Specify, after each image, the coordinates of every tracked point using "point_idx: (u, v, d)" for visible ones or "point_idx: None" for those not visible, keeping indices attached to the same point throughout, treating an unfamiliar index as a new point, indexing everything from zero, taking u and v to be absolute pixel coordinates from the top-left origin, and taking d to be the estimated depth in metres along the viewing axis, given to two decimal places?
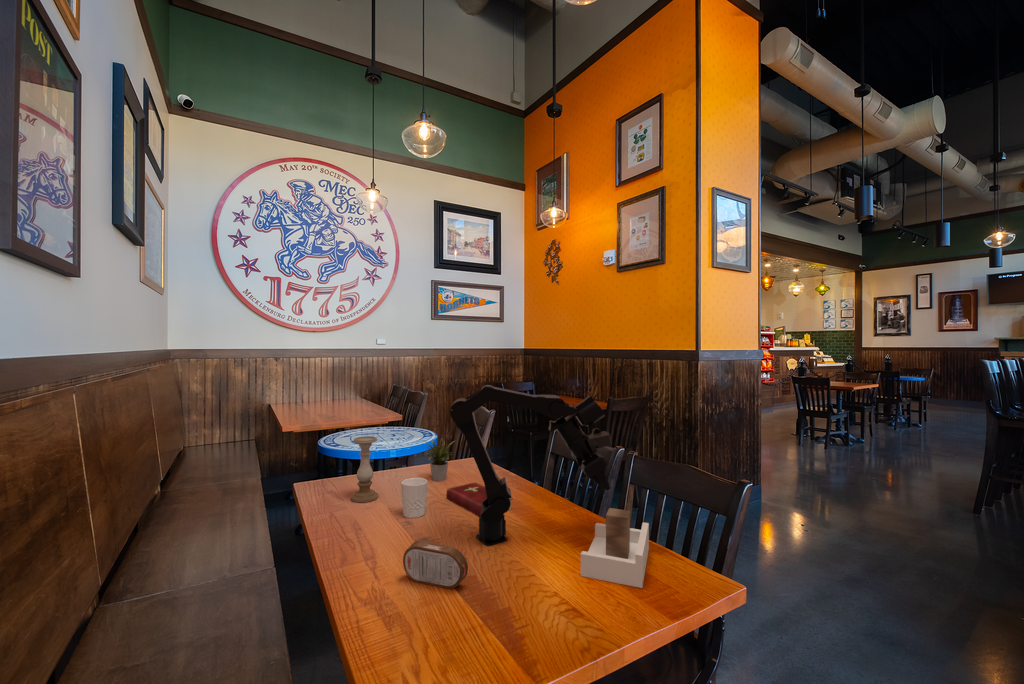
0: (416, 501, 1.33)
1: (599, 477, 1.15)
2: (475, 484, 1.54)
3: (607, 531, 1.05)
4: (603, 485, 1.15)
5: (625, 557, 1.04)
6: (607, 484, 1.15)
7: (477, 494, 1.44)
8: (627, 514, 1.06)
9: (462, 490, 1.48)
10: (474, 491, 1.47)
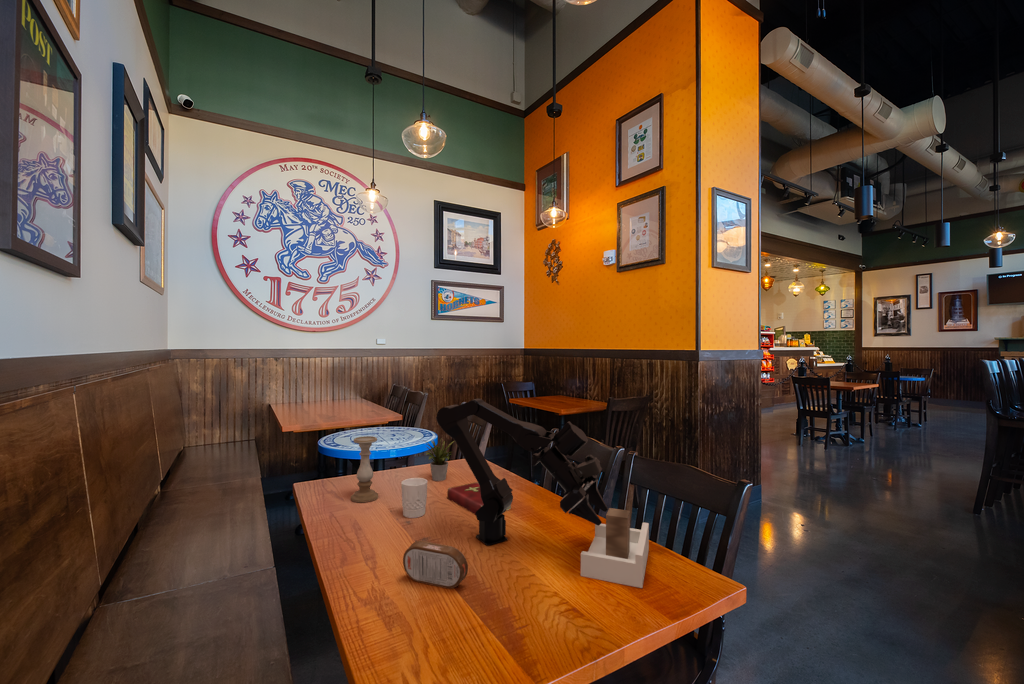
0: (416, 501, 1.33)
1: (584, 511, 1.04)
2: (476, 484, 1.55)
3: (607, 531, 1.05)
4: (592, 520, 1.04)
5: (625, 557, 1.04)
6: (596, 518, 1.03)
7: (477, 494, 1.44)
8: (627, 514, 1.06)
9: (463, 490, 1.48)
10: (474, 491, 1.47)
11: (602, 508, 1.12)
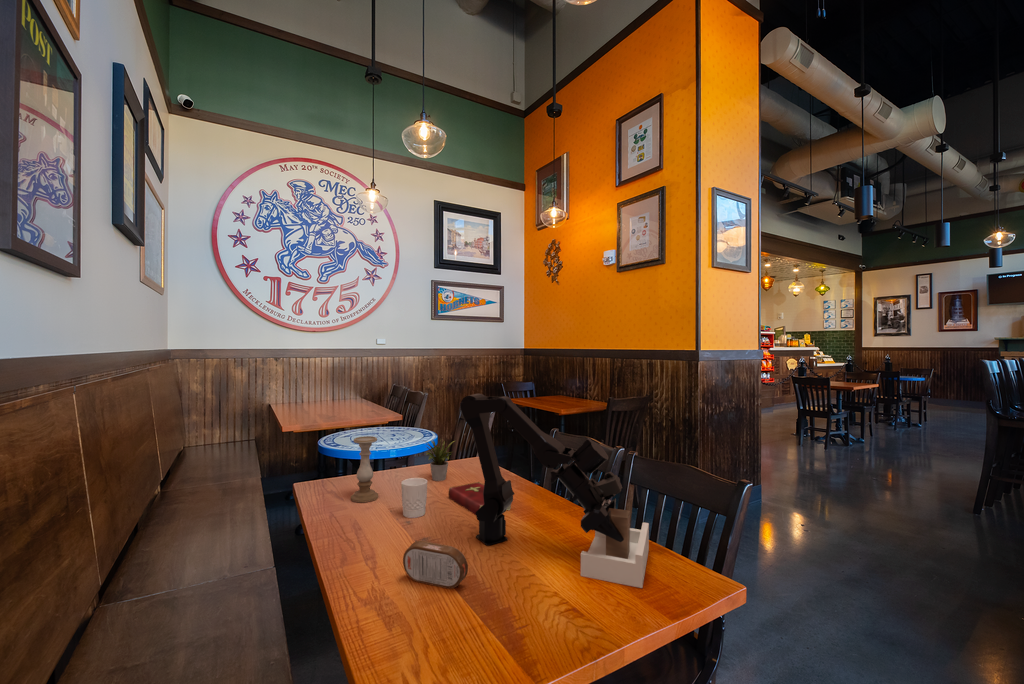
0: (416, 501, 1.33)
1: (607, 528, 1.04)
2: (478, 484, 1.55)
3: None
4: (614, 536, 1.04)
5: (625, 557, 1.04)
6: (618, 535, 1.03)
7: (477, 494, 1.44)
8: (627, 514, 1.06)
9: (464, 490, 1.48)
10: (475, 491, 1.47)
11: None
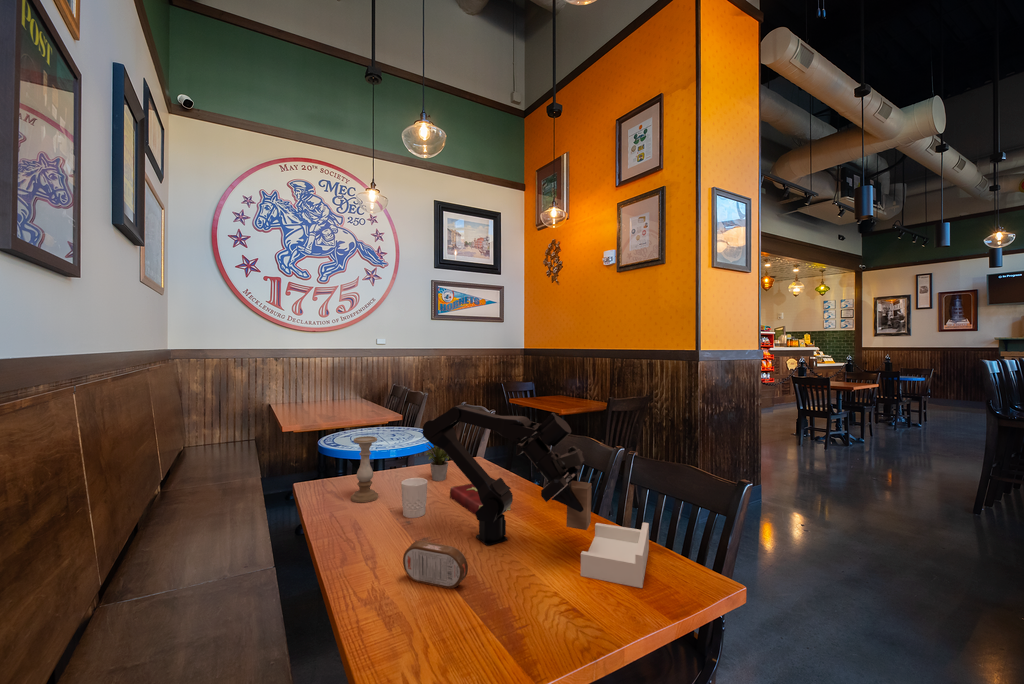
0: (416, 501, 1.33)
1: (567, 498, 1.07)
2: None
3: None
4: (574, 507, 1.07)
5: (585, 527, 1.07)
6: (578, 505, 1.07)
7: None
8: (588, 486, 1.09)
9: (464, 489, 1.49)
10: (476, 491, 1.47)
11: None
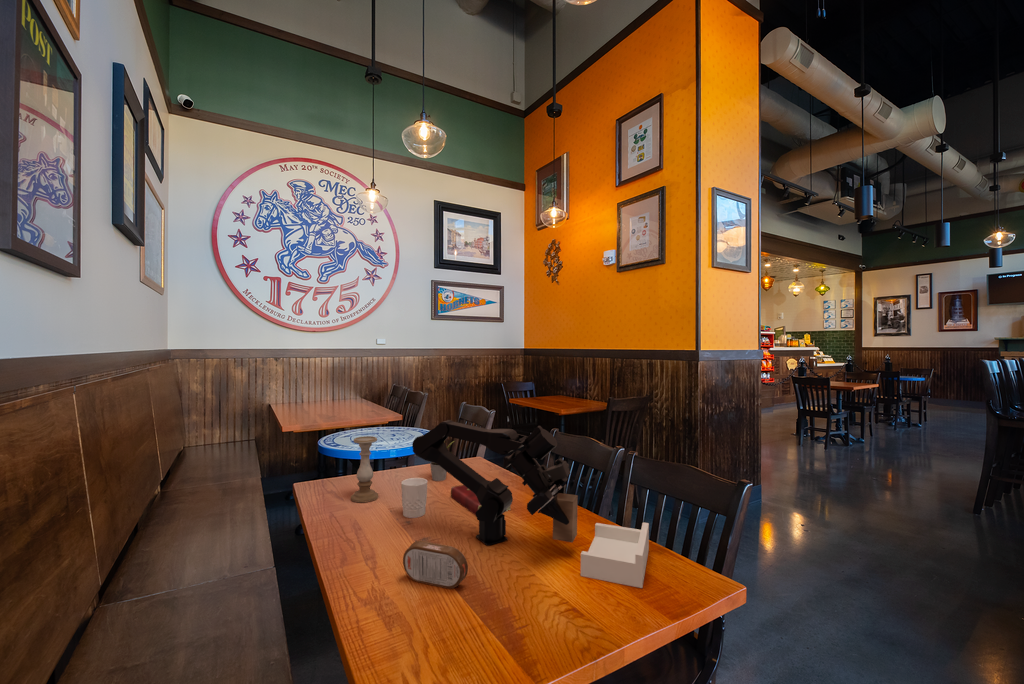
0: (416, 501, 1.33)
1: (553, 511, 1.09)
2: None
3: None
4: (560, 519, 1.08)
5: (570, 539, 1.08)
6: (564, 518, 1.08)
7: None
8: (574, 498, 1.10)
9: (465, 489, 1.49)
10: None
11: None
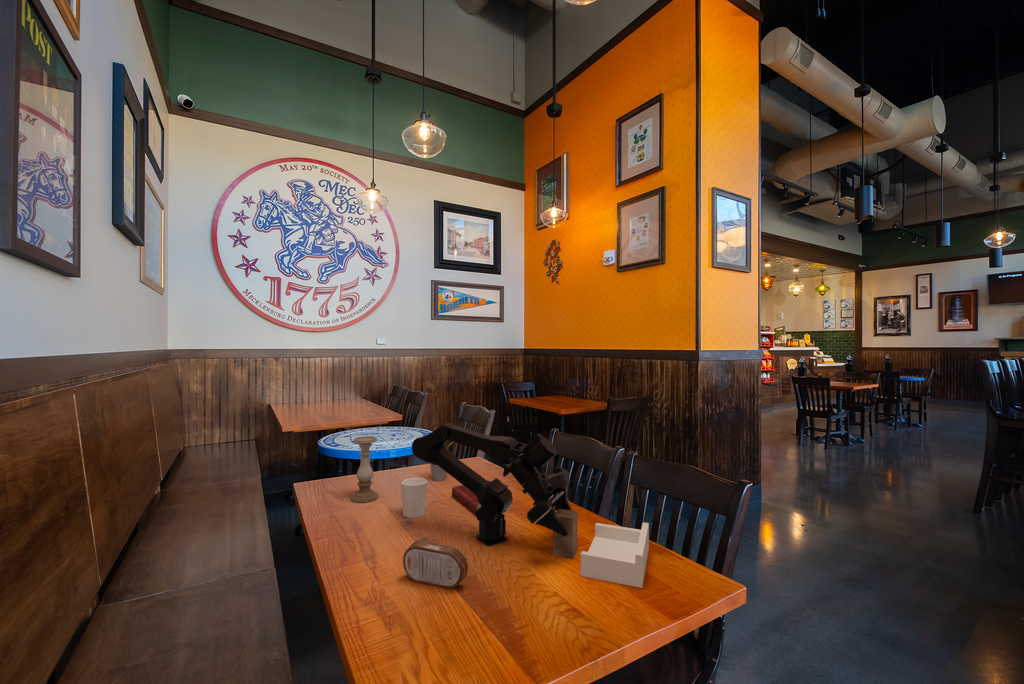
0: (416, 501, 1.33)
1: (551, 522, 1.07)
2: None
3: None
4: (558, 531, 1.07)
5: (571, 556, 1.08)
6: (562, 529, 1.06)
7: None
8: (574, 515, 1.10)
9: (466, 489, 1.49)
10: None
11: None
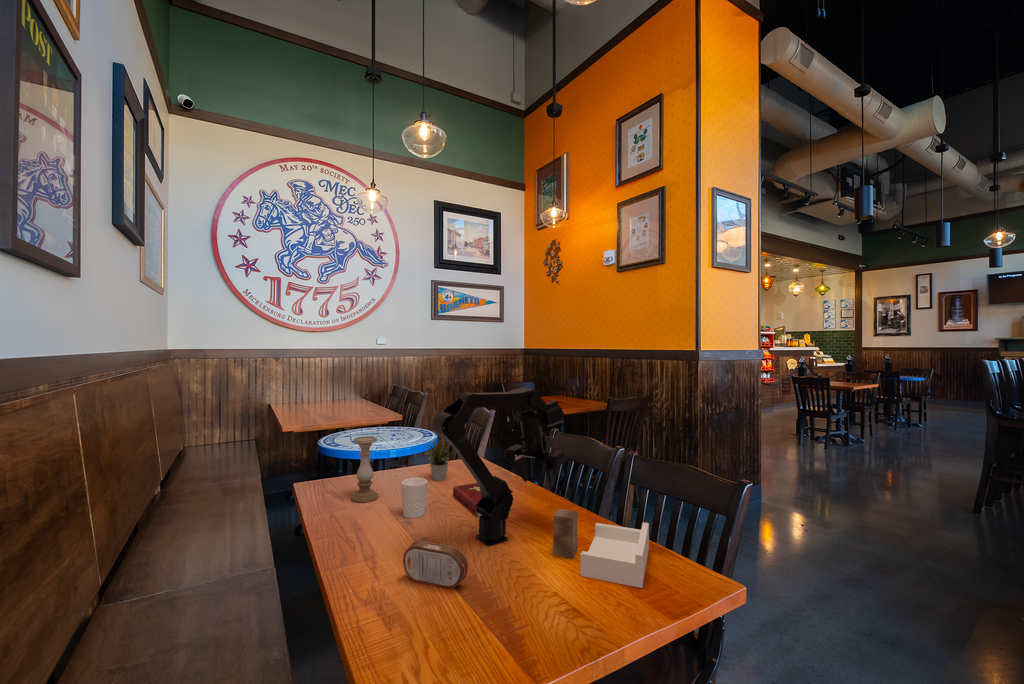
0: (416, 501, 1.33)
1: (552, 472, 1.23)
2: None
3: (554, 531, 1.10)
4: (552, 481, 1.24)
5: (571, 556, 1.08)
6: (553, 481, 1.24)
7: (478, 494, 1.44)
8: (574, 515, 1.10)
9: (467, 489, 1.49)
10: (477, 490, 1.47)
11: (525, 478, 1.30)
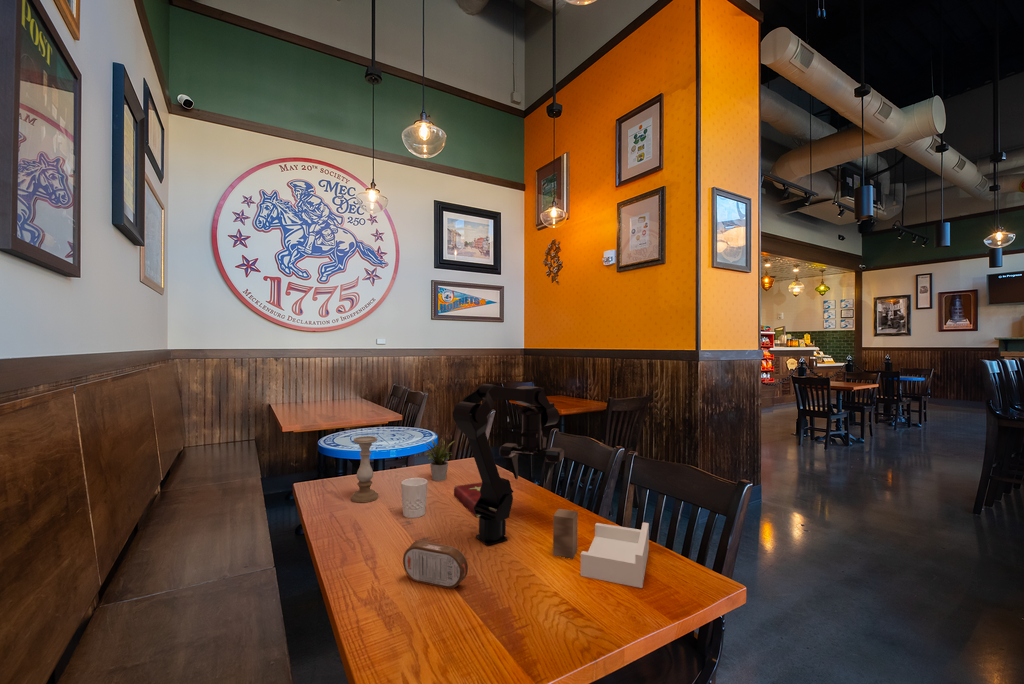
0: (416, 501, 1.33)
1: (549, 468, 1.29)
2: None
3: (554, 531, 1.10)
4: (547, 477, 1.29)
5: (571, 556, 1.08)
6: (548, 477, 1.30)
7: (479, 494, 1.45)
8: (574, 515, 1.10)
9: (467, 488, 1.50)
10: (478, 490, 1.47)
11: (517, 475, 1.32)
